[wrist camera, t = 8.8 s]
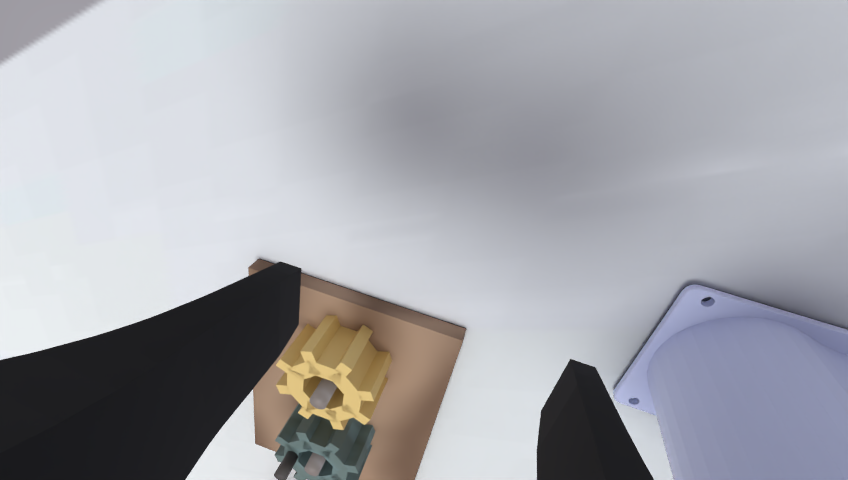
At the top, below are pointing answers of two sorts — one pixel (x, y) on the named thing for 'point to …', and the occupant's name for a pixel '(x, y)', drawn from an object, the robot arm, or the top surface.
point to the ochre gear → (335, 371)
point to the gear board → (396, 409)
